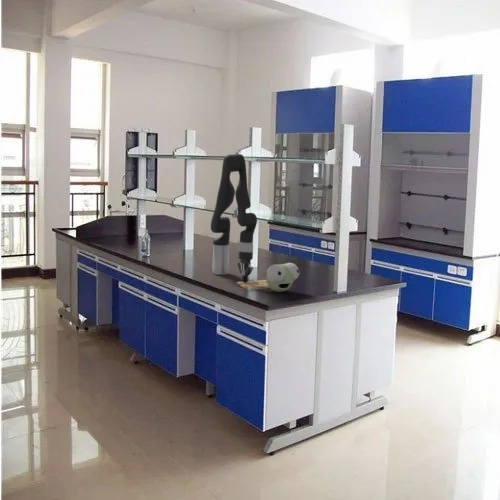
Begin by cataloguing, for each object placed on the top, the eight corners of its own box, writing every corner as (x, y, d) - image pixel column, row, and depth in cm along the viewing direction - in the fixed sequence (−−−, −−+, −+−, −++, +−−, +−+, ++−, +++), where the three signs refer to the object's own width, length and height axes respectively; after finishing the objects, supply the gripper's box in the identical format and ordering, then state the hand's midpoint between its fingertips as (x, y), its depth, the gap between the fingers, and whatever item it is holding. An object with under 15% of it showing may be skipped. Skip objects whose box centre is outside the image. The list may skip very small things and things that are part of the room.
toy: (274, 296, 295) (275, 266, 293) (256, 290, 307) (257, 262, 305) (302, 292, 306) (303, 263, 304) (284, 287, 318) (285, 259, 315)
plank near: (237, 284, 319) (237, 282, 319) (250, 282, 323) (250, 280, 323) (244, 288, 312) (244, 285, 312) (258, 286, 317) (258, 284, 316)
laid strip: (244, 288, 312) (244, 285, 312) (273, 285, 321) (273, 283, 321) (249, 290, 308) (249, 288, 307) (278, 287, 317) (279, 285, 317)
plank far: (252, 283, 324) (252, 280, 324) (265, 281, 328) (265, 279, 328) (259, 286, 317) (259, 284, 317) (273, 285, 321) (273, 283, 321)
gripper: (233, 248, 321) (232, 280, 324) (246, 252, 310) (244, 285, 313) (245, 247, 325) (244, 278, 328) (258, 252, 313) (257, 284, 316)
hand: (244, 282), depth 320 cm, fingers closed
